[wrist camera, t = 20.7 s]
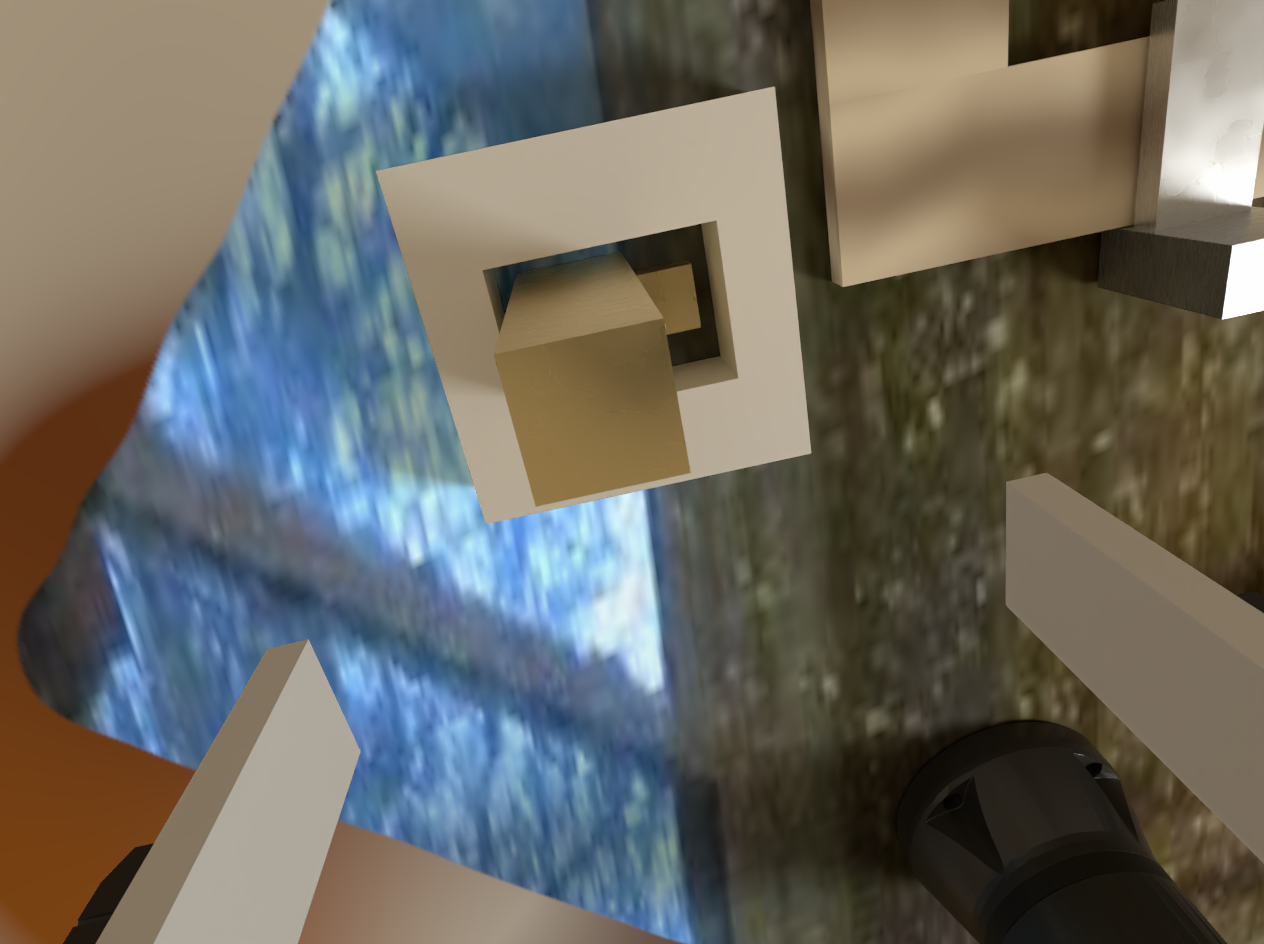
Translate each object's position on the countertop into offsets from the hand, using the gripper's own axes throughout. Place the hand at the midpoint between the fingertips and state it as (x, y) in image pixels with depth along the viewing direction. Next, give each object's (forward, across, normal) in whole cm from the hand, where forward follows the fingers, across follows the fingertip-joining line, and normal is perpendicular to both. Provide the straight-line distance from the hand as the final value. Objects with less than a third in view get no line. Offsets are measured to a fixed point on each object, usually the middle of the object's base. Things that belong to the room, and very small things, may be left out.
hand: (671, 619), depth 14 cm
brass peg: (+25, -1, -1) cm, 25 cm away
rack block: (+25, -1, -1) cm, 25 cm away
